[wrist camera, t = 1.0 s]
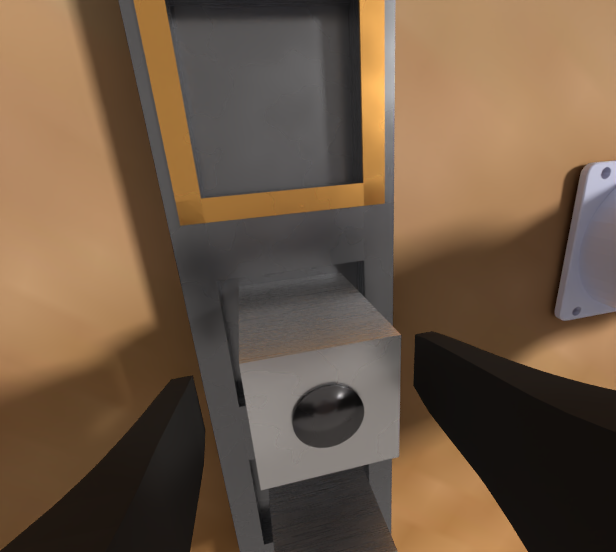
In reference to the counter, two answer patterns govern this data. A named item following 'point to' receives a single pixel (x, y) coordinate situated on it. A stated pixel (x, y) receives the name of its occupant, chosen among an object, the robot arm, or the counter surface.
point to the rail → (268, 178)
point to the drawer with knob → (317, 378)
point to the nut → (329, 515)
